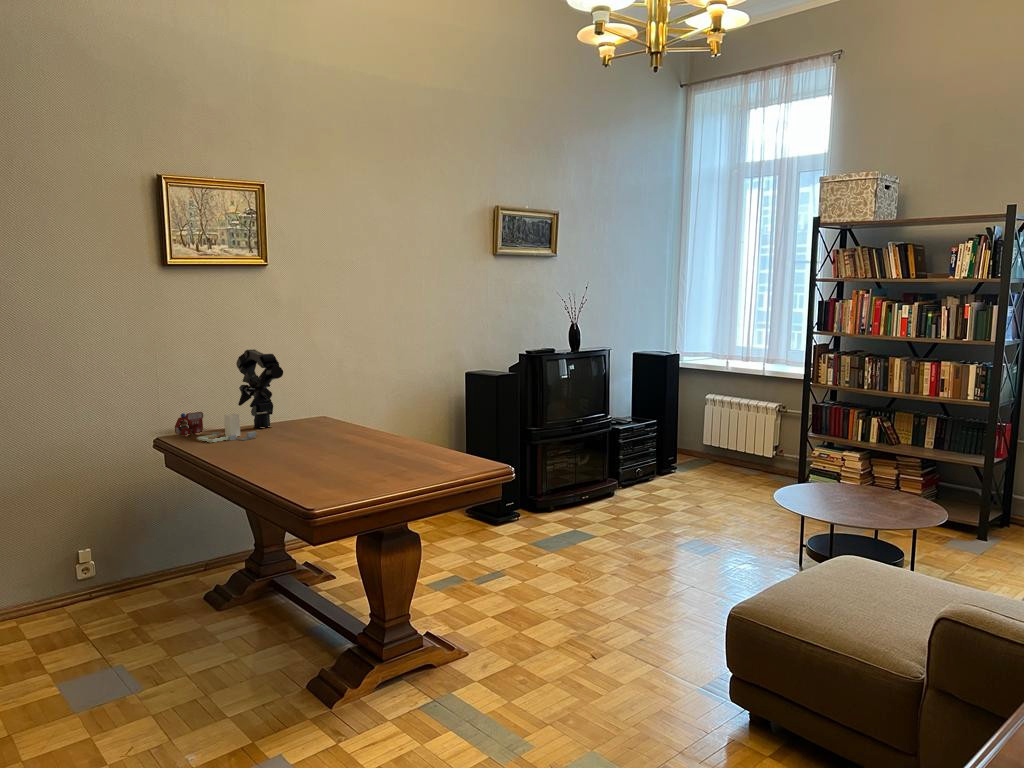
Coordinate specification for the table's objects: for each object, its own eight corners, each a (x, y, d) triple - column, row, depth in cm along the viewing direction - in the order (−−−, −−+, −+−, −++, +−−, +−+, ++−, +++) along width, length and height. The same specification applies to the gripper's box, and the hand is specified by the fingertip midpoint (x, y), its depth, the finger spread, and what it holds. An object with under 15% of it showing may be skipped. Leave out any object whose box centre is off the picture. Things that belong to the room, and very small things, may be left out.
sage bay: (215, 437, 335) (215, 434, 334) (229, 439, 328) (229, 436, 328) (196, 440, 328) (196, 437, 327) (210, 443, 321) (210, 439, 321)
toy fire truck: (173, 435, 341) (171, 413, 340) (201, 432, 349) (200, 410, 348) (177, 437, 336) (176, 414, 335) (206, 434, 343) (204, 412, 342)
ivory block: (234, 435, 338) (233, 413, 337) (240, 436, 336) (239, 414, 334) (225, 437, 335) (224, 415, 334) (231, 438, 332) (229, 415, 331)
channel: (231, 431, 348) (230, 427, 348) (263, 437, 333) (263, 432, 333) (205, 436, 338) (204, 431, 338) (237, 441, 323) (236, 437, 322)
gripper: (241, 367, 347) (221, 393, 340) (264, 369, 336) (244, 396, 328) (257, 382, 354) (237, 408, 347) (281, 384, 343) (261, 411, 335)
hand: (244, 406), depth 339 cm, fingers open, 9 cm apart
